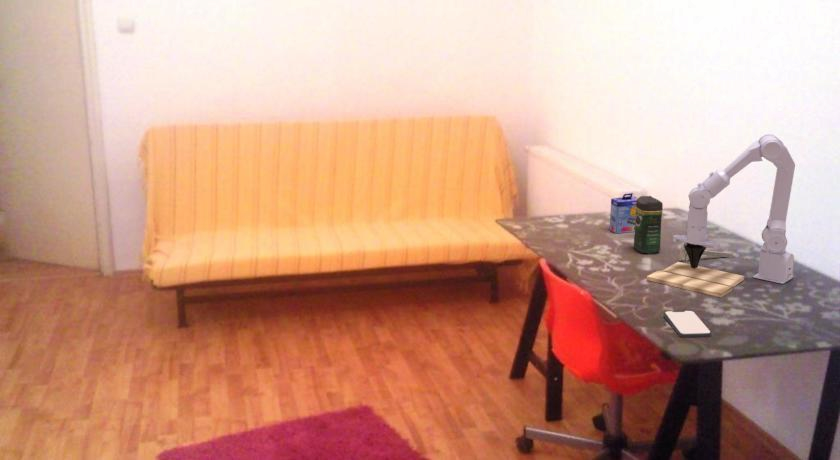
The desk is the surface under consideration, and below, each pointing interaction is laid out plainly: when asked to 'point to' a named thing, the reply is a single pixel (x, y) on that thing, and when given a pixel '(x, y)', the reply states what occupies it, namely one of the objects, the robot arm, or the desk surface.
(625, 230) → the ink cartridge box
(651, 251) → the coffee jar
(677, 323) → the smartphone with white screen
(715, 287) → the laid strip
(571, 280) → the desk surface
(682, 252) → the caliper
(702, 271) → the loose plank
